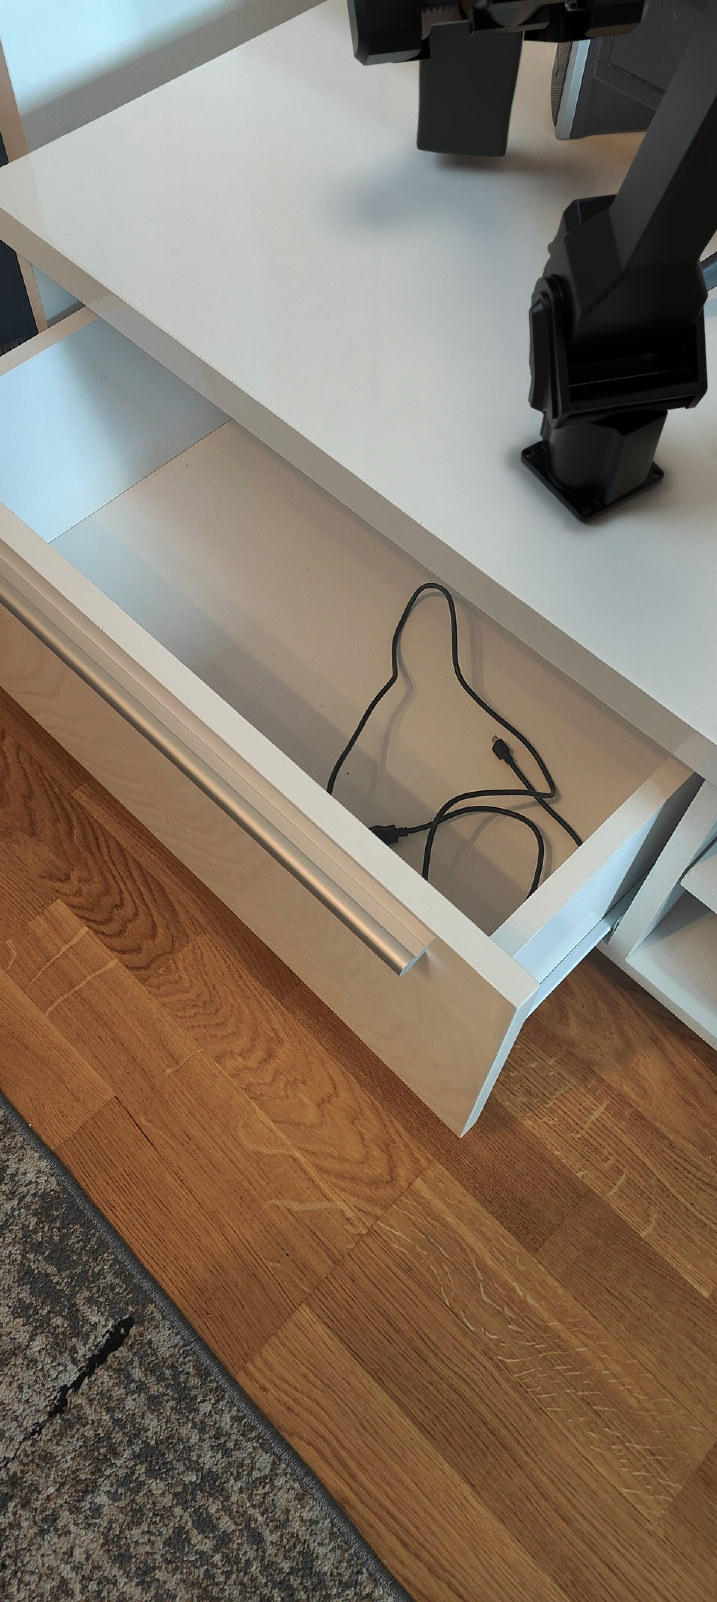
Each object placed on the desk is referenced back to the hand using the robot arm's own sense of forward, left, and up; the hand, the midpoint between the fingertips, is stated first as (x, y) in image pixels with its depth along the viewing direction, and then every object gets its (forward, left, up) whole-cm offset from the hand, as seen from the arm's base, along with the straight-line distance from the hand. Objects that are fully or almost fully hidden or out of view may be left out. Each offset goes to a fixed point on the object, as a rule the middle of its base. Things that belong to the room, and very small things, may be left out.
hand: (464, 36), depth 78 cm
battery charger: (-1, +1, -7) cm, 7 cm away
